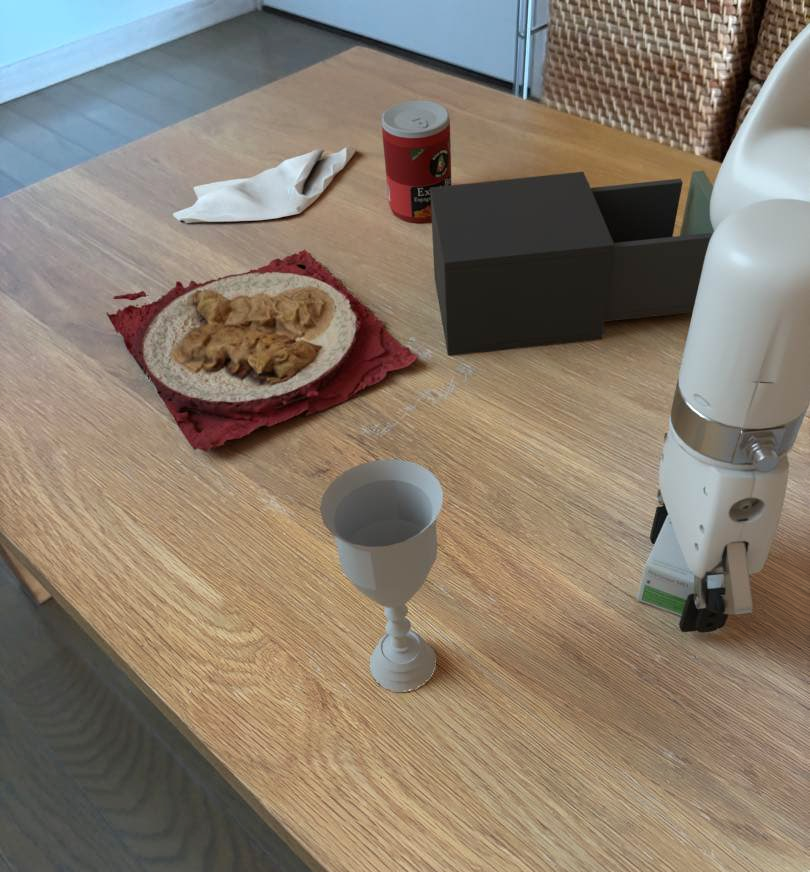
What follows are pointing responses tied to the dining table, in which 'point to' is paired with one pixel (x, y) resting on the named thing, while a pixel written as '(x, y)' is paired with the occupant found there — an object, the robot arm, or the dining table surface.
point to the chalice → (388, 554)
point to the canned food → (415, 156)
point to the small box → (669, 574)
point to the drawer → (655, 245)
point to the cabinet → (520, 262)
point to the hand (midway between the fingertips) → (684, 581)
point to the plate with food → (256, 348)
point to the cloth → (267, 190)
